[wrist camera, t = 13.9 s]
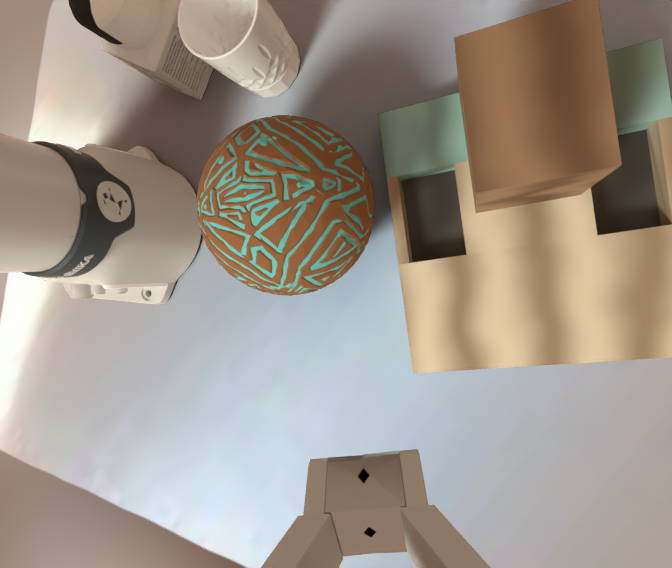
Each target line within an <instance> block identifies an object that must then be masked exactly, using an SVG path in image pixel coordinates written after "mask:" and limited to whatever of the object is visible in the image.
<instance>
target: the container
mask: <svg viewBox="0 0 672 568" xmlns="http://www.w3.org/2000/svg"><path fill="white" fill-rule="evenodd" d="M180 1H181V0H69V5H70V8H71V10H72V13H73V15H74V17H75V19H76V20H77V21H78V22H79V23H80V24H81V25H82V26H84V27H86V28H87V29H89V30H90V31H92V32H94V33H95V34H97V35H98V36H100V37H101V40H100V43H99V46H100V48H101V49H102V50H104V51H106V52H107V53H109V54H111V55H113V56H114V57H116V58H118V59H119V60H121V61H123V62H124V63H126V64H128V65H129V66H131V67H133V68H134V69H136V70H138V71H139V72H141V73H143V74H145V75H146V76H148V77H150V78H151V79H153V80H155V81H158V82H160V83H162V84H164V85H167V86H169V87H171V88H173V89H176V90H178V91H180V92H182V93H185V94H187V95H189V96H191V97H193V98H196V99H199V100H200V99H202V97H203V94H204V92H205V89H206V86H207V84H208V81H209V79H210V76H211V73H212V71H213V67H212V66H210V65H209V64H207V63H206V62H204V61H203V60H201V59H200V58H199V57H197V56H196V55H194V54H193V53H191V52H190V51H189V50H188V49H187V47H186V46H185V44H184V43H183V41H182V39H181V36H180V33H179V28H178V10H179V5H180Z"/></svg>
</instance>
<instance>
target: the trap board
mask: <svg viewBox="0 0 672 568" xmlns="http://www.w3.org/2000/svg"><path fill="white" fill-rule="evenodd" d="M606 59H607V66H608V73H609V80H610V87H611V94H612V101H613V107H614V114H615V121H616V128H617V135H618V142H619V149H620V156H621V163H622V165H621V166H619V167H618V168H617V169H615V170H614V171H613V172H611V173H610V174H608V175H607V176H606V177H604V178H603V179H602V180H600V181H599V182H597V183H596V184H595V185H593V186H592V187H591V188H589V189H588V190H586V191H585V192H584V193H582V194H581V195H577V196H572V197H566V198H560V199H555V200H549V201H543V202H538V203H532V204H526V205H521V206H515V207H509V208H504V209H498V210H492V211H487V212H481V213H476V212H475V204H474V197H473V190H472V183H471V176H470V168H469V161H468V154H467V147H466V140H465V133H464V125H463V118H462V111H461V104H460V95H459V92H458V93H454V94H451V95H447V96H443V97H439V98H436V99H432V100H428V101H425V102H421V103H417V104H413V105H410V106H406V107H402V108H399V109H395V110H391V111H387V112H384V113H380V114H378V118H379V125H380V133H381V140H382V147H383V155H384V162H385V169H386V177H387V184H388V191H389V199H390V206H391V213H392V221H393V228H394V235H395V243H396V250H397V257H398V265H399V272H400V279H401V286H402V294H403V301H404V308H405V316H406V323H407V330H408V338H409V345H410V352H411V360H412V367H413V373H426V372H442V371H458V370H474V369H490V368H506V367H522V366H538V365H554V364H570V363H586V362H602V361H618V360H634V359H650V358H666V357H672V102H671V95H670V88H669V82H668V75H667V68H666V61H665V54H664V48H663V41H662V38H659V39H655V40H652V41H648V42H644V43H640V44H637V45H633V46H629V47H626V48H622V49H618V50H614V51H611V52H607V53H606Z"/></svg>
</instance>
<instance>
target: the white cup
mask: <svg viewBox="0 0 672 568" xmlns="http://www.w3.org/2000/svg"><path fill="white" fill-rule="evenodd" d="M178 28H179V33H180V36H181V39H182V41H183V43H184V44H185V46H186V47H187V49H188V50H189V51H190V52H191V53H193V54H194V55H196V56H197V57H199V58H200V59H201V60H203V61H204V62H206V63H207V64H209V65H210V66H212V67H213V68H215V69H216V70H218V71H219V72H220V73H222V74H223V75H225V76H226V77H228V78H229V79H231V80H233V81H234V82H236V83H237V84H239V85H241V86H242V87H244V88H246V89H248V90H249V91H251V92H252V93H254V94H256V95H259V96H261V97H263V98H266V97H274V96H278V95H280V94H281V93H283V92H284V91H286V90H287V89H288V88H289V87H290V86H291V84H292V83H293V81H294V80H295V78H296V77H297V74H298V69H299V64H300V58H299V53H298V48H297V45H296V44H295V43H294V41H293V40H292V38H291V37H290V35H289V34H288V32H287V30H286V28H285V26H284V24H283V23H282V21H281V20H280V18H279V16H278V15H277V13H276V12H275V10H274V9H273V7H272V6H271V4H270V3H269V1H268V0H181V1H180V5H179V10H178Z"/></svg>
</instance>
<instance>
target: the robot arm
mask: <svg viewBox="0 0 672 568" xmlns="http://www.w3.org/2000/svg"><path fill="white" fill-rule="evenodd" d="M201 233H202V232H201V228H200V224H199V221H198V214H197V196H196V194H195V192H194V190H193V188H192V187H191V185H190V184H189V182H188V181H187V180H186V179H185V178H184V177H183V176H182V175H181V174H180V173H178V172H177V171H175V170H174V169H172V168H170V167H168V166H165V165H164V164H162V163H161V162H159V160H158V159H157V158H156V156H155V155H154V154H153V153H152V151H151V150H149V149H148V148H146V147H142V146H135V147H133V148H132V149H130V150H128V151H126V152H125V151H121V150H117V149H113V148H108V147H104V146H100V145H96V144H86V145H85V147H82V148H80V149H78V150H76V149H73V148H71V147H68V146H65V145H61V144H54V143H48V142H42V141H37V142H28V141H24V140H21V139H18V138H14V137H11V136H7V135H4V134H0V273H1V272H22V273H24V274H27V275H31V276H37V277H40V278H41V279H43V280H44V281H51V282H62V283H63V285H64V287H65V289H66V290H67V292H68V293H69V294H70V296H71V298H97V299H107V300H117V301H128V302H138V303H148V304H164V303H166V302H167V301H168V299H169V297H170V295H171V293H172V290H173V288H174V285H175V282H176V281H177V279H178V278H179V277H180V276H181V275H182V274H183V273H184V272H185V270H186V269H187V268H188V267H189V265H190V264H191V262H192V261H193V259H194V257H195V255H196V252H197V250H198V247H199V243H200V239H201ZM150 291H151V295H150ZM399 454H400V456H399ZM391 552H407V554H408V555H409V557H410V558H411V560H412V561H413V563H414V564H415V566H416V567H417V568H490V567H489V565H488V564H487V563H486V562H485V561H484V560H483V559H482V558H481V557H480V555H479V554H478V553H477V552H476V551H475V550H474V549H473V548H472V547H471V545H470V544H469V543H468V542H467V541H466V540H465V539H464V538H463V537H462V535H461V534H460V533H459V532H458V531H457V530H456V529H455V528H454V527H453V525H452V524H451V523H450V522H449V521H448V520H447V519H446V518H445V517H444V515H443V514H442V513H441V512H440V511H439V510H438V509H437V508H436V507H435V505H428V501H427V495H426V489H425V484H424V478H423V473H422V467H421V462H420V456H419V452H418V449H414V450H404V451H391V452H382V453H373V454H364V455H360V456H346V457H331V458H320V459H311V460H310V462H309V466H308V476H307V485H306V495H305V505H304V515H303V516H298V517H297V518H296V520H295V521H294V523H293V524H292V525H291V527H290V528H289V529H288V531H287V532H286V534H285V535H284V536H283V538H282V539H281V541H280V542H279V543H278V545H277V546H276V547H275V549H274V550H273V552H272V553H271V554H270V556H269V557H268V559H267V560H266V561H265V563H264V564H263V566H262V567H261V568H339V566H340V564H341V562H342V560H343V557H342V556H352V555H361V554H371V553H391Z"/></svg>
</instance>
